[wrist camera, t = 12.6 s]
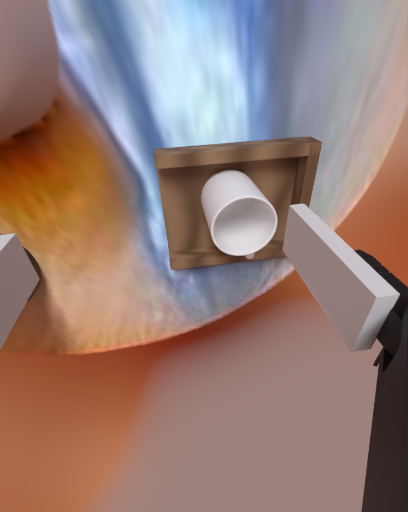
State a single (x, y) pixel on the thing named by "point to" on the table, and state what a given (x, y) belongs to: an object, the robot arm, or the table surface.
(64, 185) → the table surface
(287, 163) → the tray
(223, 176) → the mug
